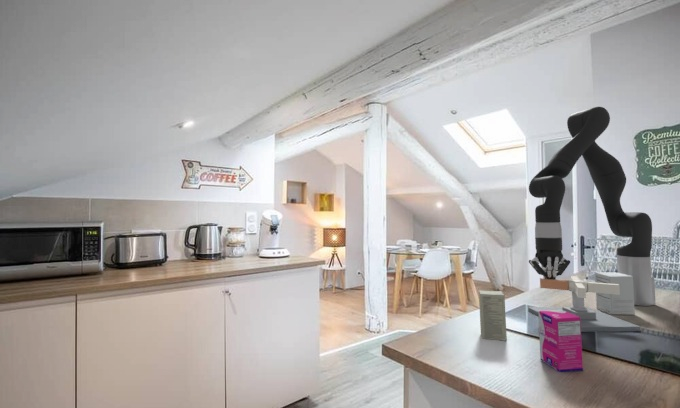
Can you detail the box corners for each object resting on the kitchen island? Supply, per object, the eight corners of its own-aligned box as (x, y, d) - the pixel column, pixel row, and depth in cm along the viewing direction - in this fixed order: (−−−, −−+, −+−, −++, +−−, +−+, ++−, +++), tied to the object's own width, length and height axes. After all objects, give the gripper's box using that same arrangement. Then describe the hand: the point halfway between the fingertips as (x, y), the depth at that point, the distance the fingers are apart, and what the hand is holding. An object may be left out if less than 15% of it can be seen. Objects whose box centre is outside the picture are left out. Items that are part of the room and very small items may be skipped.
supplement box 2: (618, 308, 112) (616, 272, 113) (635, 315, 105) (633, 276, 105) (595, 308, 113) (594, 272, 114) (611, 314, 106) (609, 275, 106)
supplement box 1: (539, 360, 74) (537, 309, 74) (563, 359, 74) (561, 308, 75) (558, 372, 68) (556, 317, 68) (584, 371, 69) (582, 316, 69)
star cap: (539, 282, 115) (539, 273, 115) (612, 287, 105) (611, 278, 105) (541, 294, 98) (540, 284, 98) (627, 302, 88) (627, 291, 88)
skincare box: (504, 335, 89) (503, 291, 90) (507, 341, 85) (505, 294, 85) (479, 333, 91) (478, 289, 92) (481, 338, 87) (479, 293, 88)
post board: (586, 310, 111) (585, 284, 111) (640, 330, 91) (639, 299, 91) (528, 310, 111) (527, 285, 111) (569, 331, 91) (568, 300, 91)
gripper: (560, 235, 112) (562, 285, 111) (522, 235, 112) (524, 286, 111) (576, 236, 104) (578, 290, 104) (535, 237, 104) (537, 291, 104)
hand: (550, 288), depth 107 cm, fingers closed
